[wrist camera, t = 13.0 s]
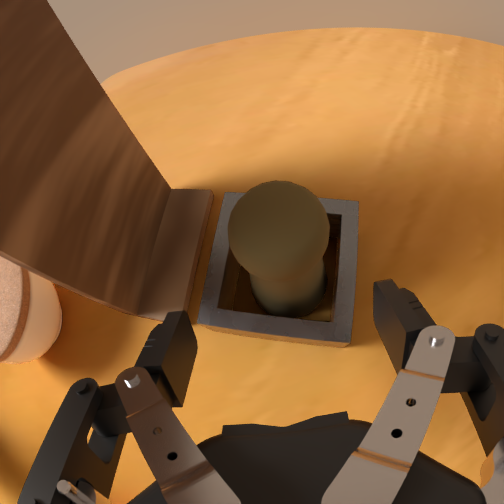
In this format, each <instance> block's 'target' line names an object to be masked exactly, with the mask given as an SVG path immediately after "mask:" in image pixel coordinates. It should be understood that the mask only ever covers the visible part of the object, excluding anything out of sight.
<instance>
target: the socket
mask: <svg viewBox="0 0 504 504" xmlns="http://www.w3.org/2000/svg"><path fill="white" fill-rule="evenodd" d="M244 194H245V193H234V192H225V194H224V198H223V203H222V207H221V211H220V216H219V220H218V224H217V229H216V233H215V238H214V242H213V247H212V251H211V256H210V260H209V265H208V270H207V275H206V279H205V284H204V289H203V294H202V299H201V304H200V309H199V314H198V319H197V324H199V325H202V326H204V327H206V328H208V329H210V330H212V331H216V332H222V333H228V334H235V335H241V336H248V337H255V338H262V339H269V340H276V341H284V342H292V343H301V344H310V345H319V346H329V347H340V348H343V347H345V346H346V345H348V344H350V341H351V332H352V322H353V311H354V300H355V286H356V270H357V250H358V211H359V201H349V200H338V199H327V198H318V199H319V201H320V202H321V204H322V205H323V207H324V208H325V211H326V213H327V217H328V221H329V225H330V231H329V237H337V252H336V266H335V278H334V289H333V299H332V309H331V318H330V322H322V321H312V320H303V319H294V318H285V317H277V316H269V315H261V314H253V313H246V312H238V311H232V309H233V304H234V298H235V293H236V287H237V282H238V276H239V271H240V265H241V264H240V263H239V262H238V261H237V260H236V258H235V256H234V254H233V252H232V250H231V248H230V246H229V240H228V222H229V218H230V213H231V211H232V209H233V208H234V206H235V205H236V203H237V201H238V200H239V199H240V198H241V197H242V196H243V195H244Z"/></svg>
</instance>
